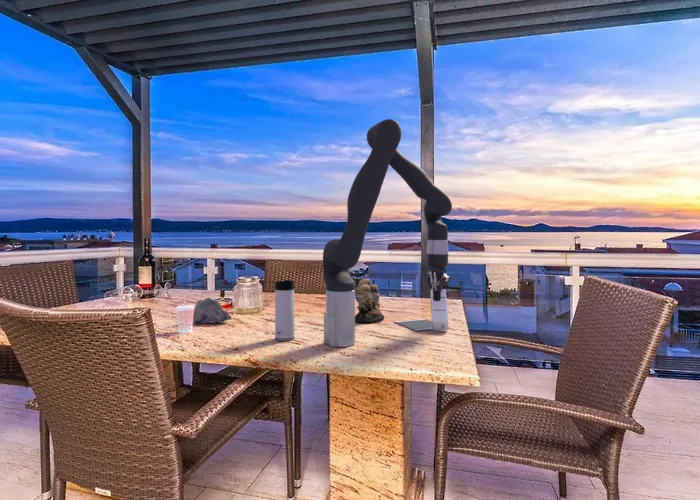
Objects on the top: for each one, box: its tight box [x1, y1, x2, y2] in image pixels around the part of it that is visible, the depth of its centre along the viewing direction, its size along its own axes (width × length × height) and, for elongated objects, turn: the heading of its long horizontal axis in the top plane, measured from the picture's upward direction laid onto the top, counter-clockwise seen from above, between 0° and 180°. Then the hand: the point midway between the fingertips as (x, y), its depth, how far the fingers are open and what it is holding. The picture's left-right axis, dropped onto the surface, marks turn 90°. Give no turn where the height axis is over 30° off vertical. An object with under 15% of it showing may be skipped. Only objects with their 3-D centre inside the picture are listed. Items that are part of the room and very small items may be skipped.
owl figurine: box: [355, 278, 385, 325], centre depth 167 cm, size 18×12×17 cm, turn 159°
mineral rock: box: [193, 297, 233, 325], centre depth 160 cm, size 13×11×10 cm
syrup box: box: [430, 289, 449, 331], centre depth 152 cm, size 6×6×14 cm
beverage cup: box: [175, 292, 195, 334], centre depth 146 cm, size 6×6×14 cm
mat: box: [394, 318, 450, 333], centre depth 157 cm, size 14×16×1 cm
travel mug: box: [274, 279, 295, 343], centre depth 136 cm, size 6×7×20 cm
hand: (436, 300), depth 147 cm, fingers closed
